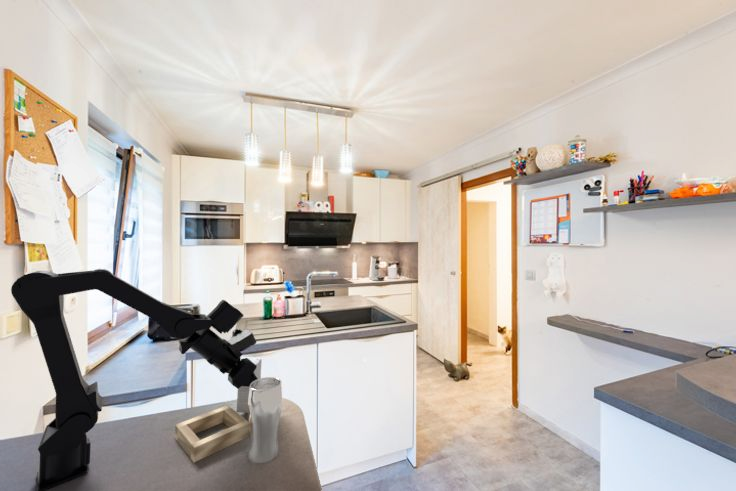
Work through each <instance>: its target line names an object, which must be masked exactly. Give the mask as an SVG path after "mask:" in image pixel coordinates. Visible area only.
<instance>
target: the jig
mask: <svg viewBox="0 0 736 491" xmlns="http://www.w3.org/2000/svg"><path fill="white" fill-rule="evenodd" d="M222 423H224V424H225V426H227V427H228V428H225V429H223V430H220V431H219V432H218V431H217V432H215V433H213V434H212V435H210V436H207V437H204V438H202V439H200V437H198V435H197V433H198V434H199V433H201V432H202V431H205V430H208V429H210V428H212V427H215V426H218V425H220V424H222ZM174 426H175V427H174V439H175V440H176V441H177V442H178V444H179V445H180V447H181V448H182V449H183V450H184V451H185V453H186V454H187V456H188V457H189V458H190V459H191V461H192V462H193V463H196V462H198V461H200V460H202V459H203V460H204V459H205V458H208V457H209V456H211V455H213V454H215V453H217V452H219V451H222V450H224V449H226V448H227V447H230V446H232V445H234V444H236V443H239V442H241V441H242V440H244V439H245V440H246V438H249V437H251V431H250V425H249V420H247V419H246V418H244V416H242V415H241V414H239V412H237V410H234V409H233V408H232V407H231V406H229V405H224V406H221V407H219V408H216V409H214V410H211V411H208V412H205V413H202V414H200V415H197V416H195V417H192V418H190V419H186V420H184V421H182V422H178V423H176V424H175V425H174Z"/></svg>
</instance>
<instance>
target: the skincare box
mask: <svg viewBox="0 0 736 491" xmlns="http://www.w3.org/2000/svg"><path fill="white" fill-rule="evenodd" d="M248 359H249V360H250V361H251V362H253V363H254V364H255V365H256V366H257V367H256V369H255V370H254V372H253V373H254V374H255V376H256V377H257V378H258V379H260V378H262V377H261V375H262V360H263V359H262V358H248ZM249 388H250V387H247V386H241V387H240V388H238V389H237V398H236V412H237V413H247V414H248V397H249Z"/></svg>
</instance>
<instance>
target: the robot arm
mask: <svg viewBox="0 0 736 491" xmlns="http://www.w3.org/2000/svg"><path fill="white" fill-rule="evenodd" d="M10 290H11V291H10V292H11V296H12V297H13V299H14V300H15V302H16V303H17V305H18V307H19V309H20V310H21V311H22V313H24V314H25V316H26V317H27V318H28V319H29V320H30V322H32V324H33V325H34V330H35V332H36V336H37V339H38V343H39V345H40V347H41V350H42V355H43V357H44V360H45V363H46V366H47V369H48V373H49V376H50V380H51V383H52V386H53V389H54V391H55V413H54V414H55V416H54V417H55V418H54V419H53V420H51V422H49V423H48V424H47V425H46V426H45V429H44V430H43V435H42V436H41V439H40V443H39V444H38V447H37V451H38V452H39V453H38V469H37V470H38V471H36V484H37V491H41V490H43V491H46V490H47V489H50V488H52V487H54V486H58V485H61V484H63V483H65V482H67V481H69V480H72V479H75V478H77V477H80V476H82V475H85V474H87V473H88V471H89V470H88V465H90V462H91V440H90V438H88V435H87V433H88V432H89V431H91V430H92V429H93V428H94V427H95V425H96V424H97V422H98V420H99V413H100V412H102V408H103V396H101V395H100V393H99V388H98V381H95V382H92V383H91V384H88V383H87V382H86V380H85V378H84V377H83V375H82V371H81V369H80V365H79V364H80V363H79V361H78V358H77V355H76V351H75V348H74V345H73V341H72V339H71V335H70V331H69V328H68V325H67V322H66V318H65V315H64V306H65V305H64V304H65V303H64V302H65V301H64V299H65V295H71V294H77V293H82V292H86V291H93V290H97V291H99V292H101V293H104V294H105V295H107V296H109V297H111V298H113V299H115V300H117V301H119V302H120V303H122V304H123V305H126V306H128V307H130V308H132V309H134V310H136V311H137V312H139V313H141V314H143V315H145V316H147V317H149V318H150V319H151V320H153V321H154V322H155V323H156V324H158V326H160V327H161V328H162V329H164V331H166V332H167V333H168V334H170V336H171V337H174V338H175V339H178V343H179V348H178V351H179V352H180V353H181V355H185V354H186V353H187V352H188V351H189V350H190V349H191V350H193V351H194V352H195V353H196V354H198V355H199V356H200V357H202V358H203V359H204V360H205V361H207V363H208V364H210V366H213V367H215V368H216V369H218V371H219V372H220V373H222V374H223V375H225V374H227V381H228V382H229V383H230V384H231V386H233V387H235V388H236V389H237V390H238V388H240V387H241V386H247V387H249V386H250V384H251V383H252V382H253V381H255V380H257V379H258V378H257V377H256V376H255V374H254V373H253V372H254V370H255V369H256V367H257V366H256V365H255V364H254V363H253V362H251V361H250V360H249V359H250V358H248V357H245V358H241V357H242V356H243V353H242V352H244V351H245V350H247V349H248V348H250V347H252V346H255V345H256V344H257V339H256V338H255V336H254V334H253V331H251V330H249V329H243V330H241V329H239V328H235V329H233V328H234V327H235V326H236V325H237V323H239V321H241V319H242V318H243V317H244V314H243V313H242V312H241V311H240V309H238V308H237V307H235V306H233V305H231V303H229V302H228V301H226V299H225V300H224V299H222V300H221V301H220V302H218V304H217V306H216V307H214V308H213V309H212V310H211V312H209V313H208V314H207V315H206V314H205V313H191V312H190V311H188V310H186V309H184V308H181V307H177V306H174V305H172V304H168V303H166V302H162V301H160V300H158V299H157V298H155V297H153V296H152V295H150V294H148V293H146V292H144V291H142V290H140V289H139V288H137V287H136V286H135V285H132V284H130V283H129V282H127V281H125V280H123V279H121V278H120V277H118V276H117V275H114V273H112V272H111V271H110V270H108V269H106V268H96V269H93V270H85V271H75V272H74V271H73V272H63V273H56V272H53V271H52V270H51V271H50V270H37V271H32V272H29V273H26V274H24V275H22V276H20V277H18V278H17V279H16V280H15V281H14V282H13V283H12V285H11V289H10ZM211 328H213V329H214V330H215V331H216V332H218V333H219V334H221V335H222V334H226V333H227V334H228V333H229V332H230V331H231V330H232V329H233V330H232V332H231V333H232V334H231V335H232V336H230V339H228V340H226V339H225V338H222V337H220V336H219V335H218V334H217V333H215V331H213V330H211Z"/></svg>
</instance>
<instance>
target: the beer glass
mask: <svg viewBox="0 0 736 491" xmlns="http://www.w3.org/2000/svg"><path fill="white" fill-rule="evenodd" d="M249 387H250V388H249V397H248V413H247V415H248V416H247V417H248V418H247V419H248V422H249V425H250V439H251V440H250V446H249V451H248V459H249V461H250V462H252V463H255V464H265V463H268V462H270V461H272V460H273V459H275V458H276V457H277V456H278V454H279V450H280V449H279V442H278V430H279V424H280V419H281V413H282V406H283V405H282V404H283V391H282V380H281V379H280V378H278V377H274V376H273V377H269V376H268V377H267V376H266V377H261V378H260V379H257V380H255V381H253V382H252V383H251V384H250V386H249Z"/></svg>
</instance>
